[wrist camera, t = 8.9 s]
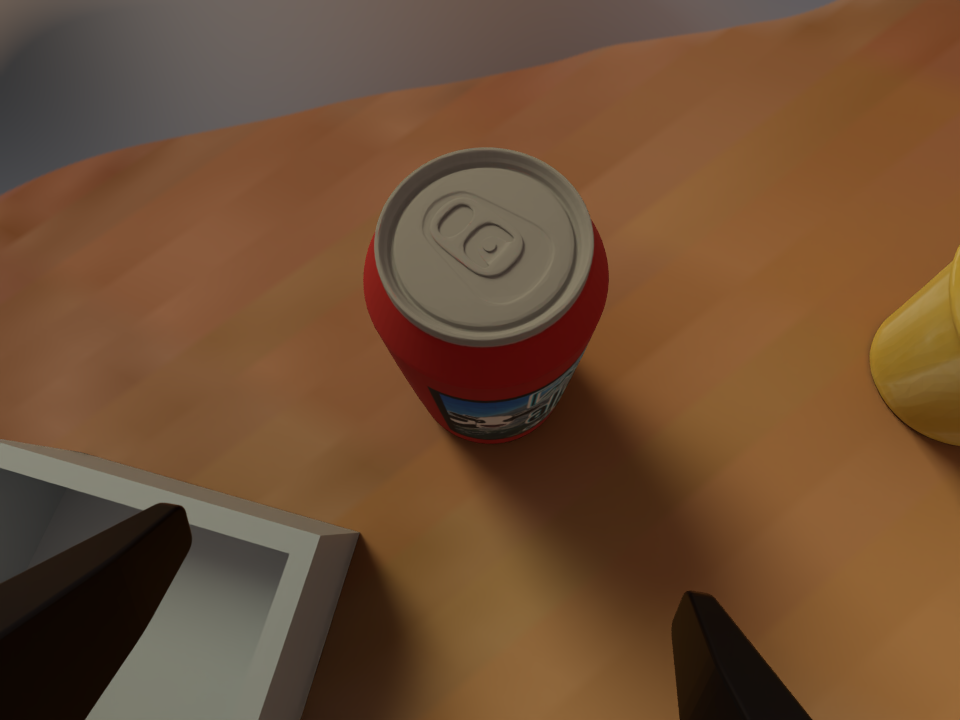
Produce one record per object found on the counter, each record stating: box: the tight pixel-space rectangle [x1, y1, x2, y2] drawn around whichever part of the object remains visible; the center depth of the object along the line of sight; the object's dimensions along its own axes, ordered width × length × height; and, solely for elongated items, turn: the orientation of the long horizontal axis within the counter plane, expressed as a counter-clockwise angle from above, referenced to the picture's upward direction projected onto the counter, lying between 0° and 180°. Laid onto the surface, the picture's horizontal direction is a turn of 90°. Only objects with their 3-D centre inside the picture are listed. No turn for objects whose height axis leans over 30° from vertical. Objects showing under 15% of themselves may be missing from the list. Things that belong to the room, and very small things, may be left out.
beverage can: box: [363, 148, 609, 444], centre depth 18 cm, size 7×7×12 cm
